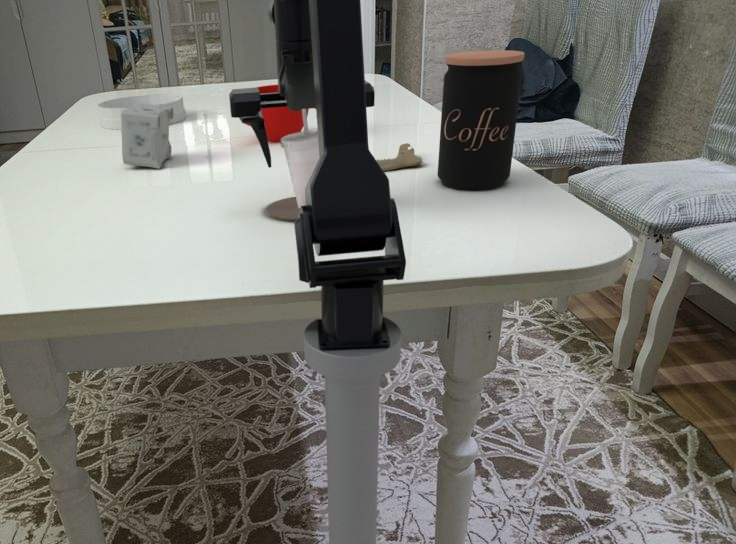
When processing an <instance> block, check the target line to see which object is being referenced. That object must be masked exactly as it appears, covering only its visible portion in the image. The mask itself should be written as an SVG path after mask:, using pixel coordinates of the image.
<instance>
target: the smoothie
mask: <svg viewBox="0 0 736 544" xmlns="http://www.w3.org/2000/svg"><path fill="white" fill-rule="evenodd" d="M302 115H303V124H304V127H303V131H300V132H298V133H293V134H290V135H287V136H284V137H283V138H281V142H280V147H281V148H282V149H283V150H284V151H283V152H284V155H285V159H286V163H287V167H288V172H289V175H290V179H291V184H292V188H293V191H294V192H293V193H294V195H295V196H294V197H296V200H297V204H298V208H300V207H301V206H306V201H305V188H306V185H307V183H308V181H309V179H310V177H311V175H312V173H313V171H314V169H315V167H316V164H317V162H318V160H319V141H318V130H309V125H308V124H309V123H308V116H307V114H306V109H302Z"/></svg>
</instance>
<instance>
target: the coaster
mask: <svg viewBox="0 0 736 544" xmlns="http://www.w3.org/2000/svg"><path fill="white" fill-rule="evenodd" d="M266 214H267V215H268V217H270V218H272V219H275V220H278V221H283V222H294V223H295V222H296V220H297V219H298V217H299V214H300V208H298V204H297V200H296V196H292V197H291V196H290V197H286V198H281V199H279V200H276V201H273V202H271V203H270V204H269V205H268V206H266Z"/></svg>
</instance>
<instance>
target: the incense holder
mask: <svg viewBox="0 0 736 544" xmlns="http://www.w3.org/2000/svg"><path fill="white" fill-rule="evenodd" d="M171 119H172V120H173V107H166V106H157V105H149V104H141V103H138V104H136V105H134V106H132V107H131V108H129V109H126V110H123V111H122V112H121V130H120V131H121V157H122V162H123V164H124V165H128V166H136V167H149V168H153V169H157V170H160V169H161V167H162V166H163V163H164V162H165V161H166V160H169V159H170V158H171V156H172V145H171V142H170V124H169V121H170V120H171Z"/></svg>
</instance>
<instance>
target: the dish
mask: <svg viewBox="0 0 736 544" xmlns="http://www.w3.org/2000/svg"><path fill="white" fill-rule="evenodd" d="M183 98H184V97H183V95H180V94H172V93H171V94H170V93H169V94H168V93H158V94H156V93H155V94H143V95H141V94H139V95H133V96H123V97H118V98H112V99H108V100H105V101H101V102H99V103H98V104H97V108H98V113H99V117H98V118H99V124H100V127H101V128H103V129H107V130H119V131H121V112H122V111H123V110H126V109H129V108H131V107H132V106H134V105H136V104H138V103H141V104H149V105H157V106H166V107H173V120H172V119H171V120H170V121H169V125H174V124H177V123H180V122H182V121H184V120H186V118H187V116H186V115H187V114H186V107H185V105H184V99H183Z"/></svg>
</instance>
